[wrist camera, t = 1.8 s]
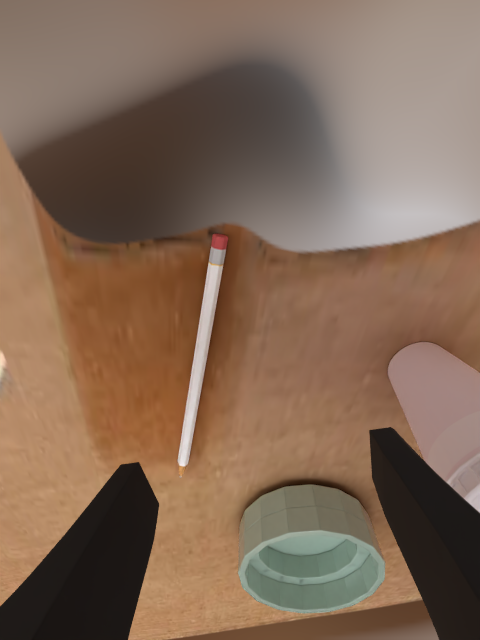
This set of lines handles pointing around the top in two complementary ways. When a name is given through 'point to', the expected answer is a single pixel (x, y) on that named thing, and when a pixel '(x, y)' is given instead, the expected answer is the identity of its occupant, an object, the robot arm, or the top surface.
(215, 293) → the pencil
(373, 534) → the lid
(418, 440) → the smoothie
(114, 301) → the top surface
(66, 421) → the top surface
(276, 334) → the top surface
